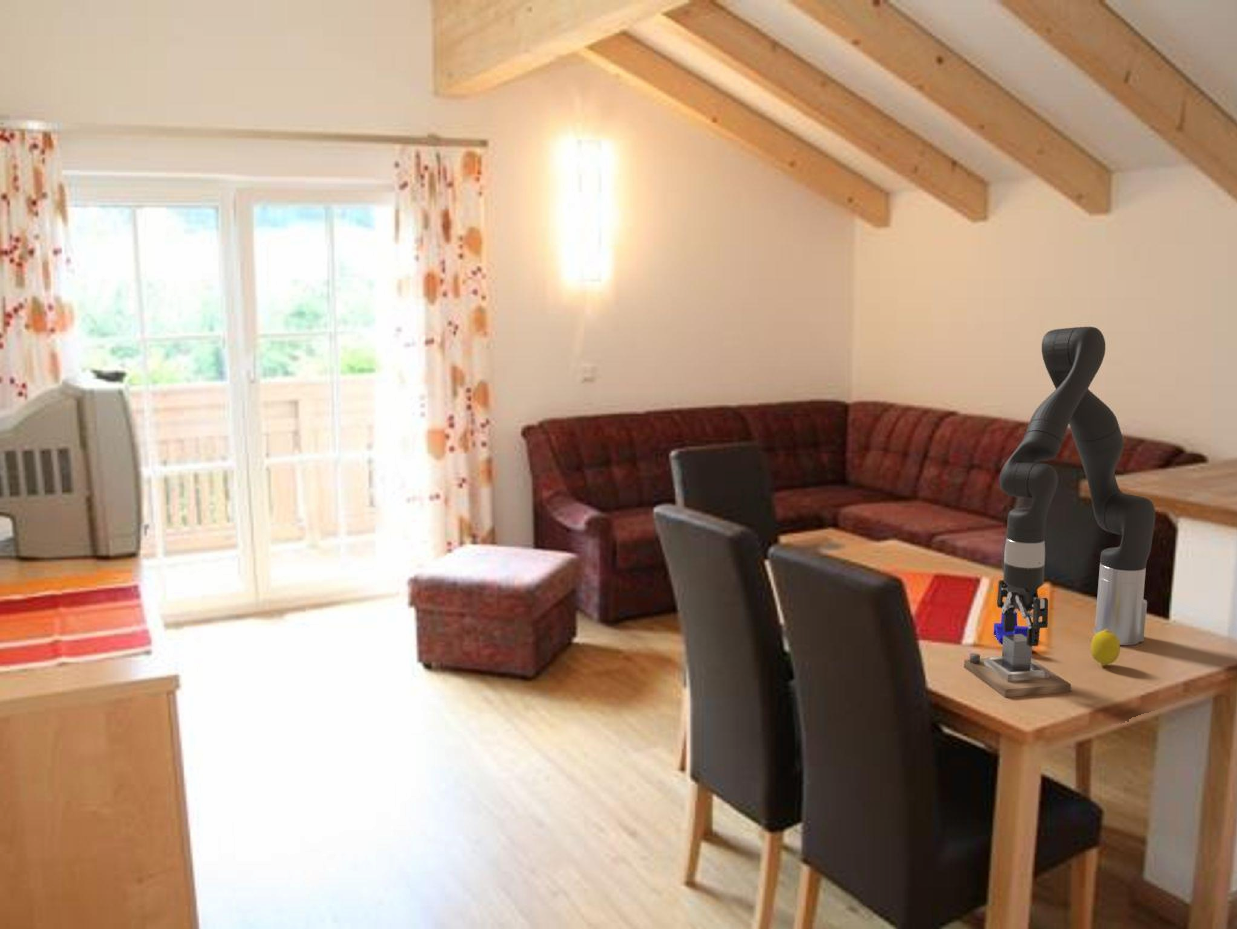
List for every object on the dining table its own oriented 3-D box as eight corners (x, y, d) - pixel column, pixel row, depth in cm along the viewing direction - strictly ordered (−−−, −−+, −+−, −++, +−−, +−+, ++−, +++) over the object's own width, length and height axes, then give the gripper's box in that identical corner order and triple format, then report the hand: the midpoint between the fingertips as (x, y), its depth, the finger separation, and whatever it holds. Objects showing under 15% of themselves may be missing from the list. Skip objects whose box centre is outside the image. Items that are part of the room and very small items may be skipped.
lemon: (1116, 672, 211) (1119, 635, 210) (1087, 667, 214) (1090, 631, 212) (1119, 664, 216) (1122, 628, 214) (1091, 659, 219) (1094, 623, 217)
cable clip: (993, 635, 234) (994, 610, 233) (1013, 636, 233) (1015, 611, 232) (1006, 654, 222) (1007, 628, 221) (1027, 655, 222) (1029, 628, 221)
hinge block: (1018, 666, 210) (1021, 633, 209) (1030, 673, 206) (1032, 640, 205) (1001, 667, 209) (1003, 635, 208) (1012, 674, 206) (1014, 641, 204)
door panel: (1025, 662, 217) (1025, 648, 217) (1070, 691, 202) (1071, 676, 201) (963, 667, 215) (964, 653, 214) (1005, 697, 199) (1005, 682, 199)
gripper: (1062, 569, 197) (1058, 649, 200) (1021, 550, 211) (1017, 625, 214) (1027, 572, 196) (1023, 652, 199) (988, 552, 210) (984, 628, 213)
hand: (1020, 638), depth 206 cm, fingers open, 8 cm apart
